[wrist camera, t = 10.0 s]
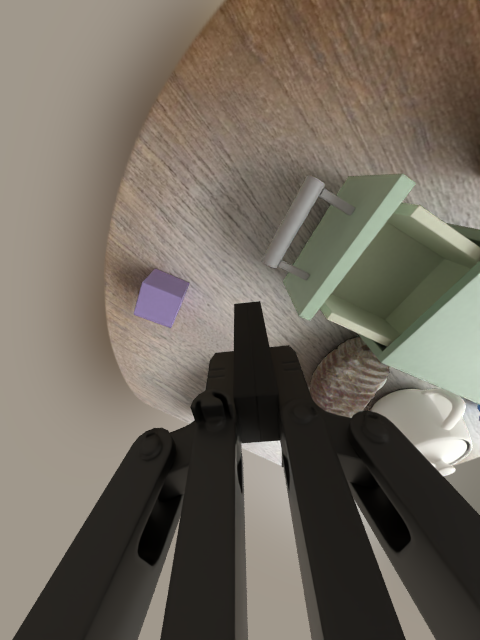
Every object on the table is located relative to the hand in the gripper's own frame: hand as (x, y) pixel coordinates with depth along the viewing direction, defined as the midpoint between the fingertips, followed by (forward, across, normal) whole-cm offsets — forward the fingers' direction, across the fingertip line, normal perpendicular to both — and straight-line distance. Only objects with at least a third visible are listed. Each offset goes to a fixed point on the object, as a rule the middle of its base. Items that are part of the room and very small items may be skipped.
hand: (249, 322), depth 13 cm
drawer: (+13, +11, -1) cm, 17 cm away
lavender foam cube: (+14, -10, -3) cm, 17 cm away
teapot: (+14, +25, -31) cm, 42 cm away
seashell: (+14, +14, -19) cm, 27 cm away
